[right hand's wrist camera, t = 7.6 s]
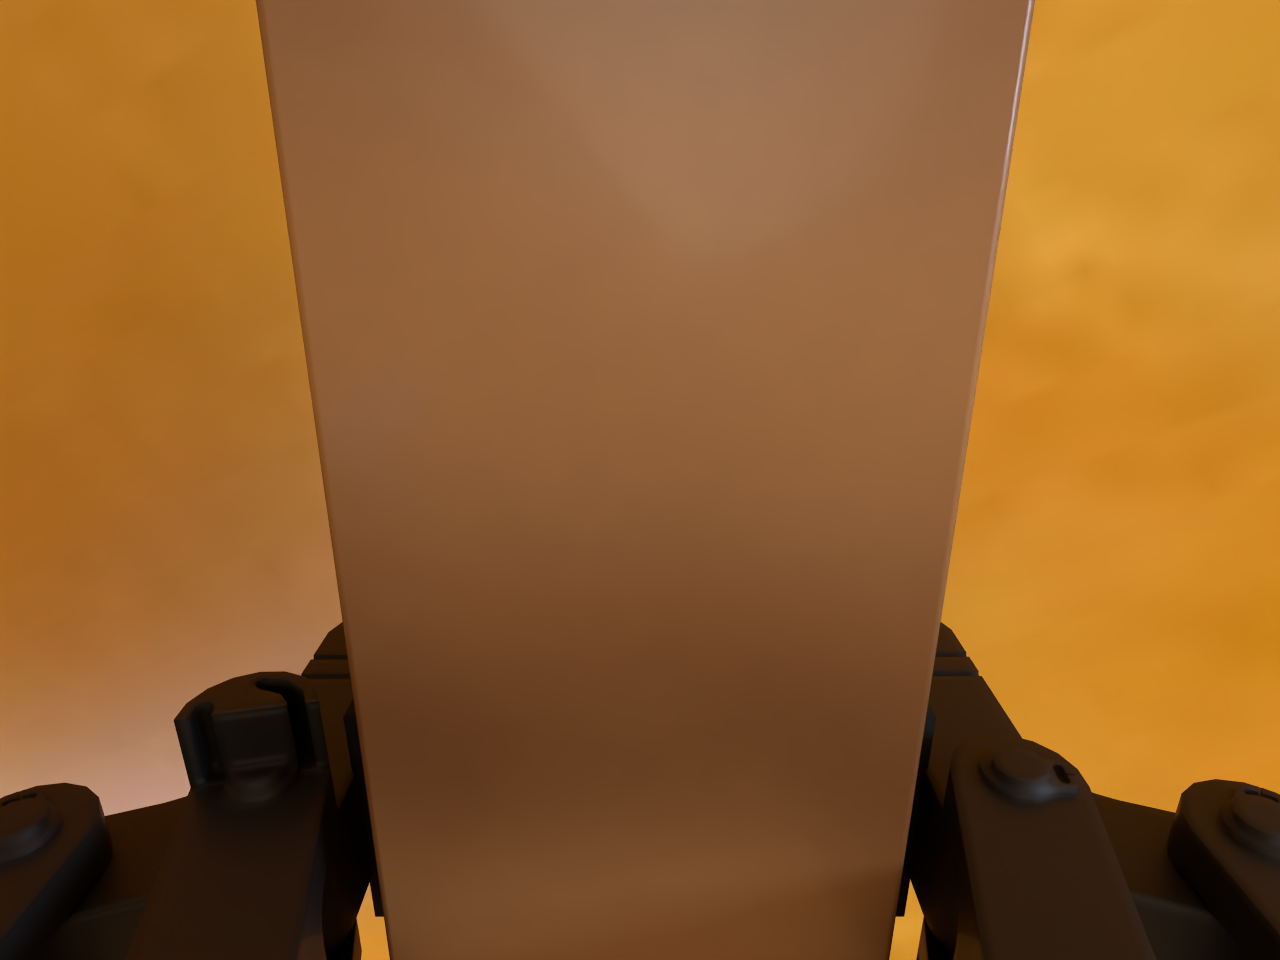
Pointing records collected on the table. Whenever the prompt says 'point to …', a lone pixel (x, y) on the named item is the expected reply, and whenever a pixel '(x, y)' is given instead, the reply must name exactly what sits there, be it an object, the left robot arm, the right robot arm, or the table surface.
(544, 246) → the beam
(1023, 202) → the table surface
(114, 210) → the table surface
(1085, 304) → the table surface
